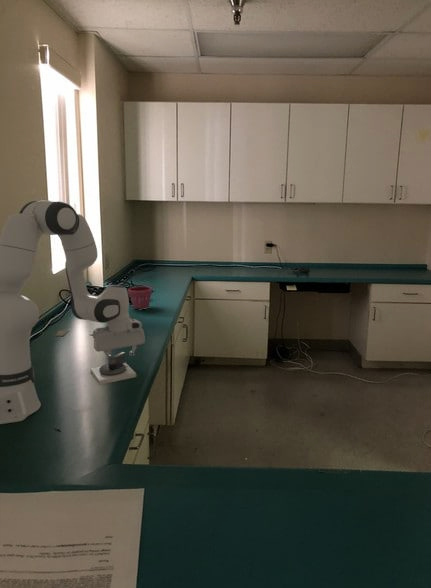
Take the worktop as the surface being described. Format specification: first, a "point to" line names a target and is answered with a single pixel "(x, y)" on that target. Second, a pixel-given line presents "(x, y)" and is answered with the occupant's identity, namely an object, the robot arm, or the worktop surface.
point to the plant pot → (140, 296)
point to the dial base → (112, 378)
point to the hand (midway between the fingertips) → (120, 357)
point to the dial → (114, 365)
